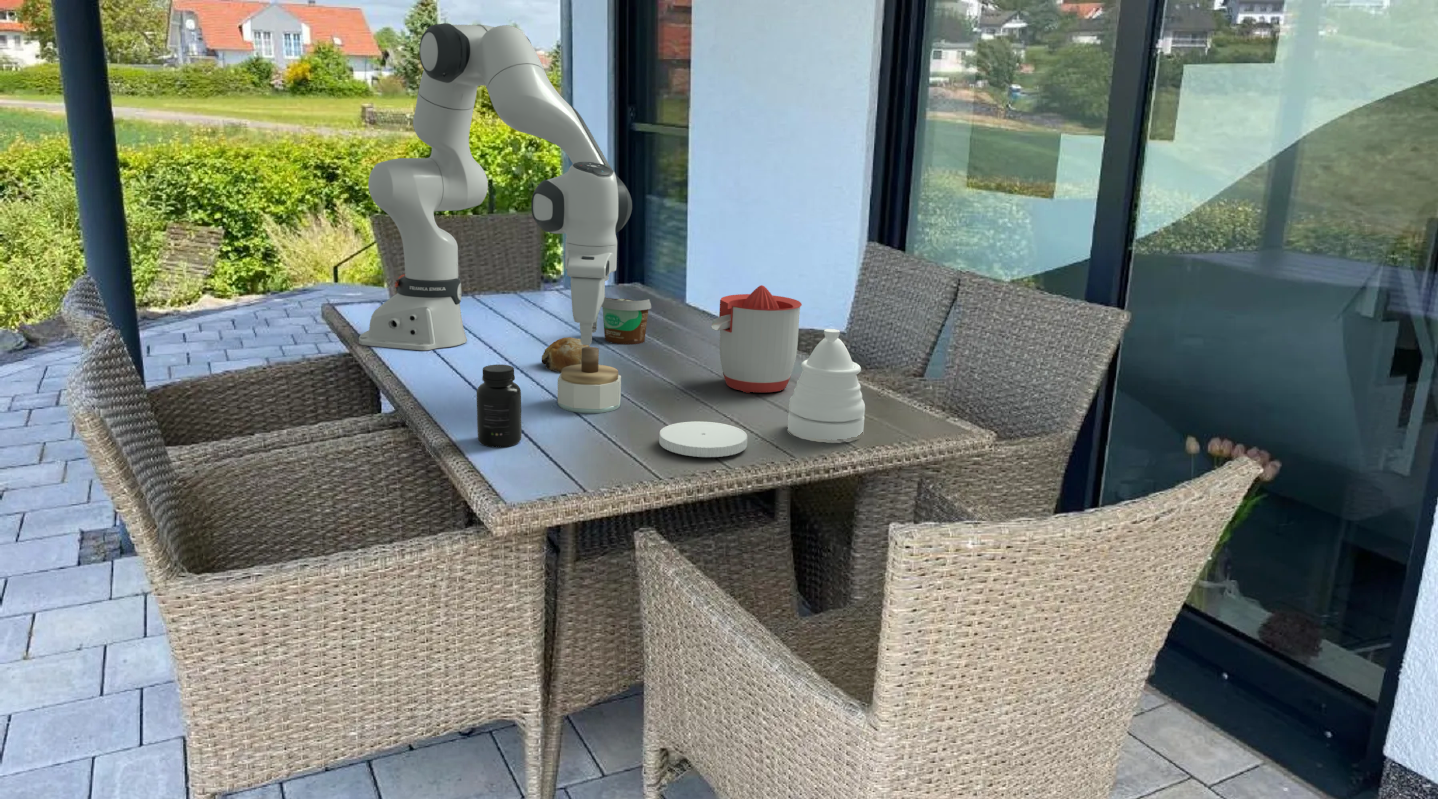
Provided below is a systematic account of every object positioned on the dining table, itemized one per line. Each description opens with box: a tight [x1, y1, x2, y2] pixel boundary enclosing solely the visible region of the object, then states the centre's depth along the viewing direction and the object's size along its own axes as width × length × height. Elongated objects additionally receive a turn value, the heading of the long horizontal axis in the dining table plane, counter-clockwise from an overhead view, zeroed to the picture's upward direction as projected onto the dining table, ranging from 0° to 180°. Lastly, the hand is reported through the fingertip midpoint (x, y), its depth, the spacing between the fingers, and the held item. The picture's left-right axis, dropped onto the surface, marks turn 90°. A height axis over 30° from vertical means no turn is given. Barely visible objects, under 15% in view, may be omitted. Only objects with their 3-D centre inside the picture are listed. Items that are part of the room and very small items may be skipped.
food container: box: [601, 295, 652, 345], centre depth 241 cm, size 12×6×10 cm, turn 68°
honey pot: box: [787, 328, 866, 440], centre depth 181 cm, size 13×13×18 cm
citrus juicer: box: [710, 285, 803, 394], centre depth 207 cm, size 16×17×20 cm
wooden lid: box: [560, 346, 619, 385], centre depth 191 cm, size 10×10×5 cm
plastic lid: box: [658, 420, 748, 458], centre depth 172 cm, size 14×14×2 cm
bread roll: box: [541, 336, 591, 373], centre depth 218 cm, size 10×10×8 cm
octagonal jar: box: [557, 373, 622, 414], centre depth 192 cm, size 11×11×5 cm
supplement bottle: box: [476, 364, 522, 448], centre depth 168 cm, size 7×7×12 cm
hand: (588, 337), depth 190 cm, fingers open, 8 cm apart
